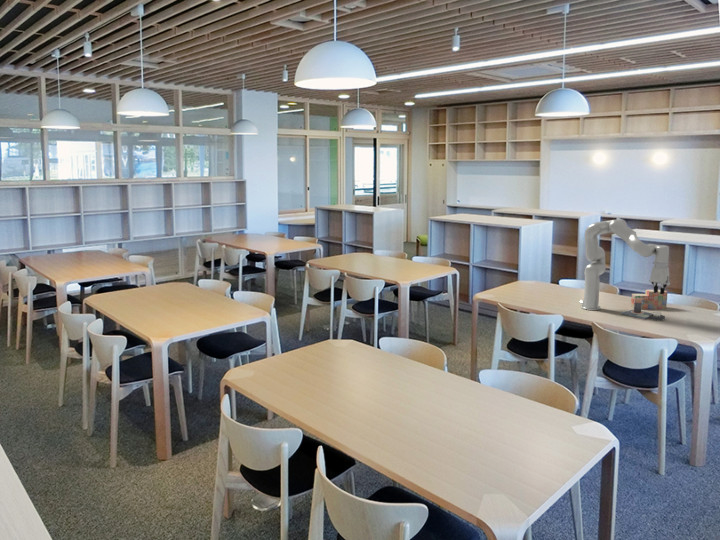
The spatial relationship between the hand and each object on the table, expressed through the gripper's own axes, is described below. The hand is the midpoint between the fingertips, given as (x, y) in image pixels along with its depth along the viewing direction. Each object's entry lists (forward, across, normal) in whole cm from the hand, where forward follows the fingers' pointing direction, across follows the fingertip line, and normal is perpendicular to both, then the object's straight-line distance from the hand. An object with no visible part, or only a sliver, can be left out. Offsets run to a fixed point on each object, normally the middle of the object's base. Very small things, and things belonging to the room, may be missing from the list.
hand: (658, 292), depth 377 cm
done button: (+15, 0, 0) cm, 15 cm away
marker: (+16, -15, +2) cm, 22 cm away
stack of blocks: (+18, -20, +23) cm, 35 cm away
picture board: (+17, -12, 0) cm, 21 cm away
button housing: (+17, 0, 0) cm, 17 cm away
